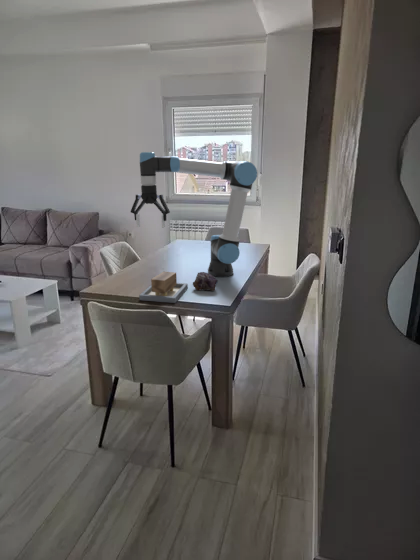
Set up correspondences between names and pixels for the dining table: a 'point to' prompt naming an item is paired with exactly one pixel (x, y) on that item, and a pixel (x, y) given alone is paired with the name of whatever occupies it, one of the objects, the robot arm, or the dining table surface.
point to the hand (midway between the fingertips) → (150, 227)
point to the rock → (205, 282)
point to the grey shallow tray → (164, 294)
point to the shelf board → (163, 282)
